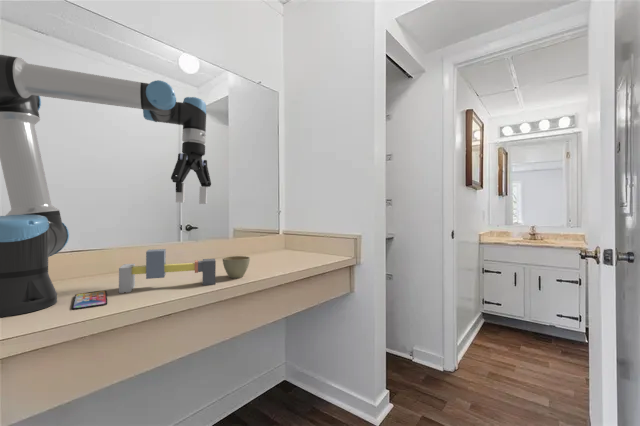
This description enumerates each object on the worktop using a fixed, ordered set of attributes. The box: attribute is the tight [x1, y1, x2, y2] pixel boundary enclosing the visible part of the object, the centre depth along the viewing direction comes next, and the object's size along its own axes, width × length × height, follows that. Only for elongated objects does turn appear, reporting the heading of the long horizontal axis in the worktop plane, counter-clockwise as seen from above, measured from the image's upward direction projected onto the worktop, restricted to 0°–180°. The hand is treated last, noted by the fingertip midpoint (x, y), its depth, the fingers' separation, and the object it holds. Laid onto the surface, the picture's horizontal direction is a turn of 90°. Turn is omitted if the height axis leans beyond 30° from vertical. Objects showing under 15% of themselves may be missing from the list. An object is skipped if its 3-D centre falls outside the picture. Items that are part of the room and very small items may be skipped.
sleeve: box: [145, 248, 167, 280], centre depth 97 cm, size 5×5×8 cm
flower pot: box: [222, 255, 251, 279], centre depth 113 cm, size 10×10×7 cm
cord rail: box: [118, 258, 217, 294], centre depth 98 cm, size 28×7×8 cm, turn 113°
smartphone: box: [71, 290, 108, 311], centre depth 83 cm, size 7×1×15 cm
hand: (192, 203), depth 106 cm, fingers open, 13 cm apart
